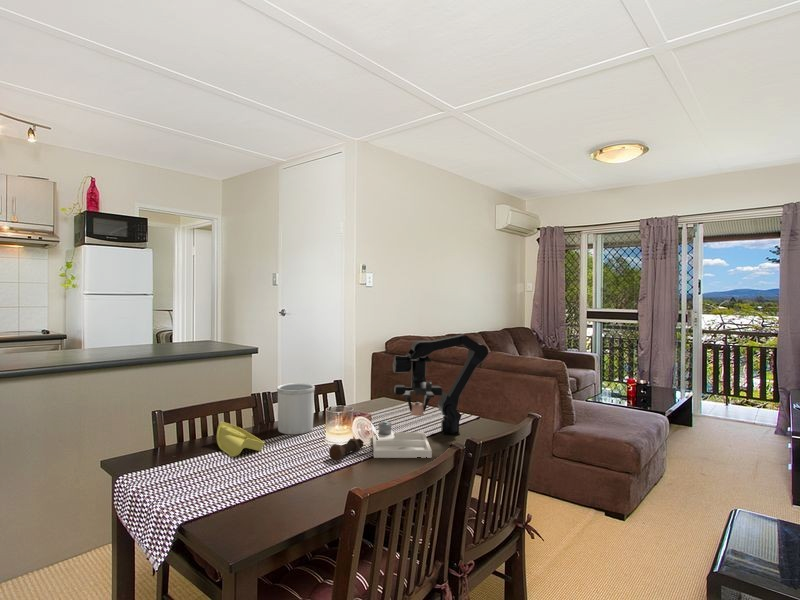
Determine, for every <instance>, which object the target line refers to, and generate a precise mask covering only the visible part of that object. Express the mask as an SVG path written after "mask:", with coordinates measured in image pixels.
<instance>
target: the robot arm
mask: <svg viewBox="0 0 800 600" xmlns="http://www.w3.org/2000/svg"><path fill="white" fill-rule="evenodd" d="M458 346H463V347H464V348H465V349H467V350H468V351H467V356H466V361H465V363H464V364H463V366H462V368H461V370H460V372H459V374H458V375H457V377H456V378H455V380H454V382H453V384H452V385H451V387H450V389H449V390H448V391H447V392H443V388H442V386H440V385H433V384H432V382H431V381H426V380H427V379H426V378H427V377H426V376H427V362H428V363H431V362H432V359H430V357H429V356H428V355H430V354H432V353H434V352H436V351H439V350H444V349H448V348H453V347H458ZM488 355H489V349H488V347H487V345H484V344H481V343H479V342H477V341H476V340H475V341H474V340H473V339H472V338H471V337H469V336H468V335H467V334H463V333H460V334H458V335H457V334H456V335H454V336H449V337H448V336H447V337H443V338H438V339H434V340H424V339H423V340H420V339H419V340H415V341H413V343H412V344H411V347H410V349H409V351H408V352H407V353H406V354H405V355H398V354H397V355H395V354H394V358H393V362H392V371H393V373H395V374H396V373H397V374H403V373H404V374H405V373H406V374H407V373H410V371H411V380H410V381H411V385H410V387H408V386H405V385H404V384H395V385H394V388H393V389H394V394H395V395H399V396H400V395H402V397H404V398H406V400H407V403H408V404H407V405H408V407H409V408H408V409H409V412H411V409H412V407H411V404H412V396H411V393H413V394H414V395H415V396H418V395H419V396H420V395H421V396H422V395H423V396H424V397H423V398H424V399H423V404H424V412H425V413H426V409H427V407H428V404H429V402H430V400H431V398H434V397H435V396H440V398H439V399H437V401H438V403H437V409H438V410H439V411H440V412H441V414H442V419H441V422H440V423H441V425H440V427H441V428H440V430H441V432H442V433H443V434H444V435H453V436H455V435H460V434H461V433H460V420H461V419H462V414H461V413H460V412H459V411H458V410H457V409H458V406H459V400H460V396H461V394H462V393H463V391H464V389H465V388H466V386H467V384H468V382H469V381H470V378H471V377H472V375H473V373H474V371H475V370H476V368H477V367H478V366H479V365H481V363H483V361H484V360H485V359H486V358H487V357H488Z"/></svg>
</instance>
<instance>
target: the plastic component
mask: <svg viewBox="0 0 800 600" xmlns="http://www.w3.org/2000/svg"><path fill="white" fill-rule="evenodd" d="M216 444H217V445H218V448H219V449H220V450H221V451H222V452H224V453H226V454H227V455H228V456H230V457H232V458H233V457H234V458H235V457H238V456H239V455H240V454H241V452H242V451H243V449H250V450H253V451H258V452H260V451H262V449H263V447H264V446H265V441H263V440H261V439H260V438H258V437H257V436H255V435H254V434H252V433H250V432H249V431H247V430H245V429H244V428H241V427H240V426H237V425H235V424H231V423H228V422H225V421H220V422H219V423H218V425H217V429H216Z"/></svg>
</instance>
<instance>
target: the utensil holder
mask: <svg viewBox="0 0 800 600" xmlns="http://www.w3.org/2000/svg"><path fill="white" fill-rule="evenodd" d="M315 388H316V386H315V384H312V383H307V382H306V383H305V382H292V383H291V382H290V383H284V384H281V385H278V386H277V387H276V391H277V431H278V432H279V433H281V434H285V435H302V434H306V433H310V432H311V431H313V429H314V402H315V401H314V400H315V390H316V389H315Z"/></svg>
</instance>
